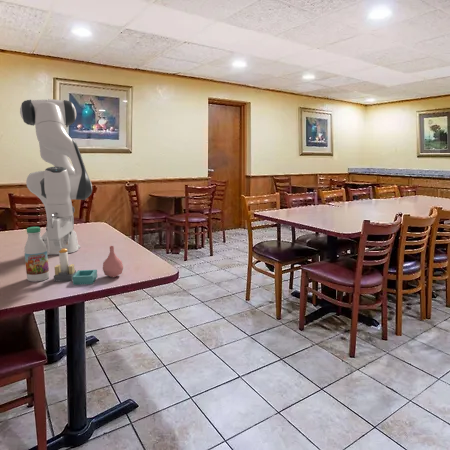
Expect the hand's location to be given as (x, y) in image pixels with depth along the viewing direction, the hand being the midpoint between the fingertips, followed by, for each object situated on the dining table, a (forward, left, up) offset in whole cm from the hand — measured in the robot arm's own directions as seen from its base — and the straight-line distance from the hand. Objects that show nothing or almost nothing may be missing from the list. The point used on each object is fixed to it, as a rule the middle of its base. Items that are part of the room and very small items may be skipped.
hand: (62, 247), depth 147 cm
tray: (+9, +3, -12) cm, 15 cm away
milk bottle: (-8, -7, -12) cm, 16 cm away
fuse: (0, 0, -10) cm, 10 cm away
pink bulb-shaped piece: (+13, +13, -12) cm, 22 cm away
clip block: (0, 0, -12) cm, 12 cm away
